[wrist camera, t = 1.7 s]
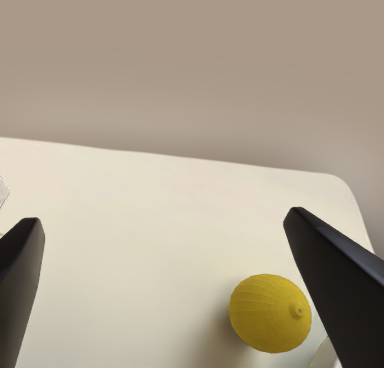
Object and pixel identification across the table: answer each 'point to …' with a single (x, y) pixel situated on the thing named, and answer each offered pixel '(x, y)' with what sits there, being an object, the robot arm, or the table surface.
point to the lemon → (270, 313)
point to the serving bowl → (325, 356)
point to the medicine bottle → (3, 191)
